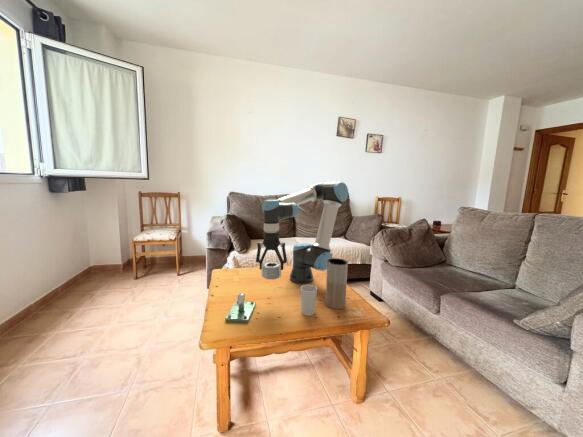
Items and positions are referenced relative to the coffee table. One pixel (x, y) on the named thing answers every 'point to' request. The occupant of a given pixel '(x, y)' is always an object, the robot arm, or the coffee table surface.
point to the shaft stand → (241, 310)
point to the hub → (271, 270)
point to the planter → (336, 283)
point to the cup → (308, 299)
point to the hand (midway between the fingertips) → (271, 275)
